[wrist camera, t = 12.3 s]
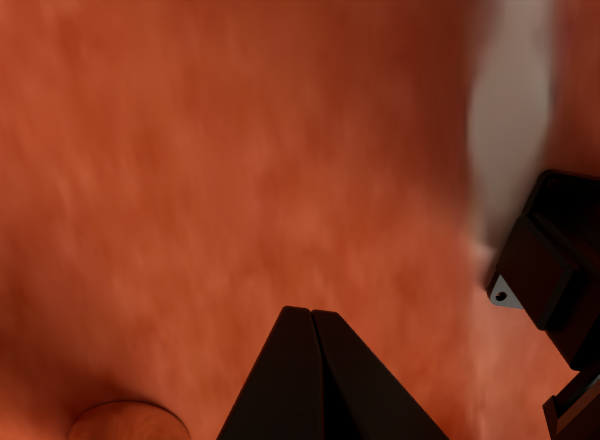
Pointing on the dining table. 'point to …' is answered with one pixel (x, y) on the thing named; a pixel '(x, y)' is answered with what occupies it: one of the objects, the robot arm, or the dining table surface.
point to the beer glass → (127, 423)
